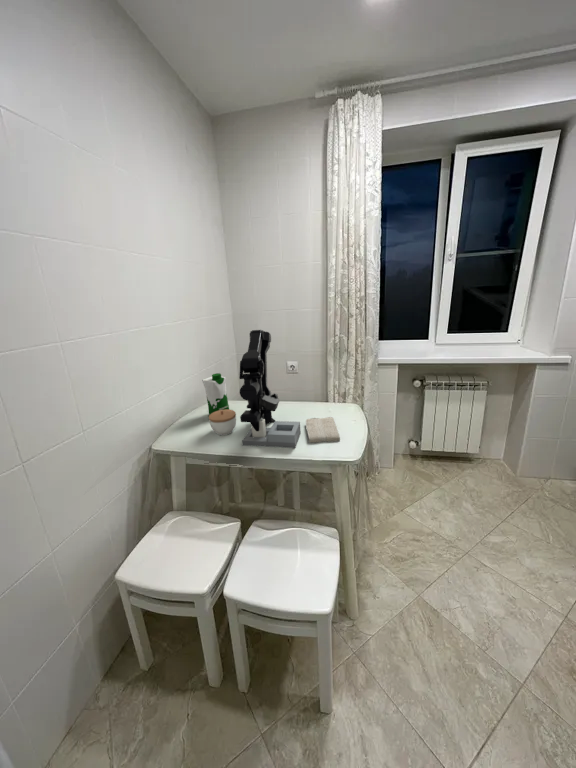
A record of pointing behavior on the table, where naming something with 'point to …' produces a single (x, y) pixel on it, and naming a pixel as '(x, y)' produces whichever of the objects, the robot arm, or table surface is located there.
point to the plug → (260, 429)
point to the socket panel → (265, 441)
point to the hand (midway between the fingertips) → (258, 429)
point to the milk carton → (216, 393)
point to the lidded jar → (223, 421)
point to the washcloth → (322, 430)
